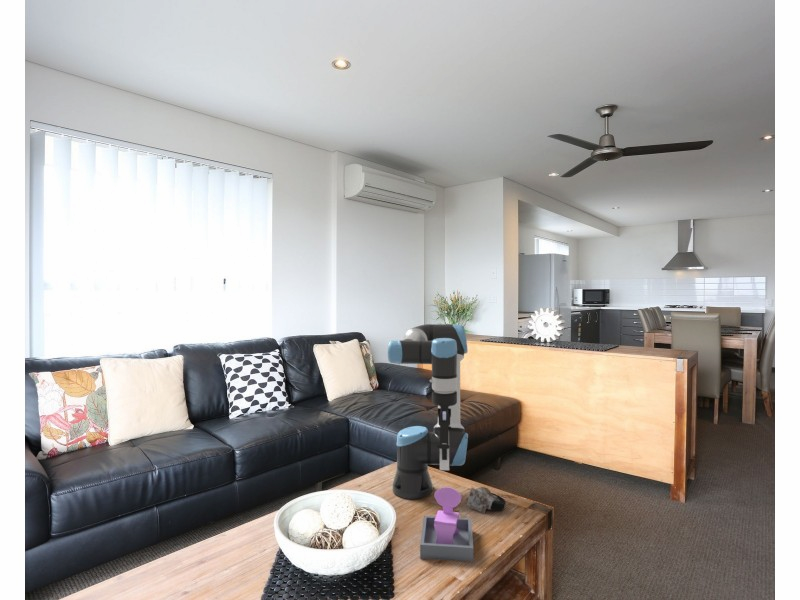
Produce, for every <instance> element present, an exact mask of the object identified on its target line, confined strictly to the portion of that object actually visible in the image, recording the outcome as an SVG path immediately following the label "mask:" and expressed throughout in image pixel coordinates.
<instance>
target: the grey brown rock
mask: <svg viewBox="0 0 800 600" xmlns="http://www.w3.org/2000/svg"><path fill="white" fill-rule="evenodd" d="M466 506H467V507H469V508H470V509H473V510H475V511H477V512H479V513H481V514H484V515H485V514H486V510H493V511H496V512H502V511H504V509H505V506H506V500H505V499H504V497H502V496H500V495H498V494H496V493H493V492H491V491H490V489H489V488H488V487H484V486H481V487H477V488H474V487H473V486H472V487H470V491H469V495H468V499H467V504H466Z"/></svg>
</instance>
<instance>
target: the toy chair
mask: <svg viewBox="0 0 800 600" xmlns="http://www.w3.org/2000/svg"><path fill="white" fill-rule="evenodd" d="M433 496H434V499H435V501H436V502H437V504H438V505H440V506H442V510H437V513H436V515H435V516H436V518H435V520H434V528H435V531H436V534H437V540H436V543H435V544H450V545H454V543H453V534H459V531H458V529H457V525H456V524H457V520H458V518H460V513H459V512H455V511H454V508H456V507H458V505H459V504H460V503H461V501H462V495H461V494H460V492H459V491H457V489H455V488H453V487H452V486H451V487H450V486H443V487H441V488H439V489H437V490H435V492H434V495H433Z"/></svg>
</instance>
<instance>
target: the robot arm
mask: <svg viewBox="0 0 800 600" xmlns="http://www.w3.org/2000/svg"><path fill="white" fill-rule="evenodd" d="M466 334H467V333H466V329H465V326H463V325H462V324H454V323H451V324H449V323H447V324H434V323H433V324H432V323H431V324H430V323H429V324H427V323H426V324H422V325H418V326H414V327H412V328H410V329H409V330H407V331H406V332H405V334H404V335H403V338H402V339H401V340H399V339H397V340H396V339H395V340H391V341H389V343H388V345H387V359H388V362H389V364H397V365H401V364H402V365H403V364H404V365H431V379H429V382H430V383H431V389H432V390H431V404H433V405H434V406H437V423H436V424H435V425H434V426H433V431H429V430H428V428H427V427H425V426H421V425H414V426H408V427H405V428H402V429H401V430H399V432H397V435H396V444H395V445H396V472H395V474H394V475H395V476H394V479H393V481H392V492H393V494H394V495H395V496H398V497H399V498H402V499H406V500H408V499H410V500H416V499H423V498H427V497H428V496H430V495H432V493H433V482H432V479H431V475H430V473H429V469H428V468H429V467H428V465H430V466H431V465H433V466H434V465H436V466H437V465H438V466H439V471H450V467H453V466H463V465H464V464H465V462H466V458H467V457H466V456H467V448H468V442H469V441H468V438H469V434H468V433H467V432H465V427H464V426H463V425H462V424H461V361H462V360H464V357H465V355H466V354H467V353H468V350H469V349H468V341H467V336H466Z"/></svg>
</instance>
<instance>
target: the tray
mask: <svg viewBox="0 0 800 600" xmlns="http://www.w3.org/2000/svg"><path fill="white" fill-rule="evenodd" d="M435 518H436V515H433V516H432V515H423V517H422V519H423V520H422V528H421V536H420V543H419V552H420V553H419V559H424V560H425V559H426V560H439V561H440V560H441V561H453V562H469V563H470V562H471V563H473V562H474V539H473V525H472V524H473V523H472V518H471V517H459V518H458V520H457V524H456V525H457V529H458V531H459V534H453V543H454V545H450V544H435V543H436V540H437V534H436V531H435V528H434V520H435Z"/></svg>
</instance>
